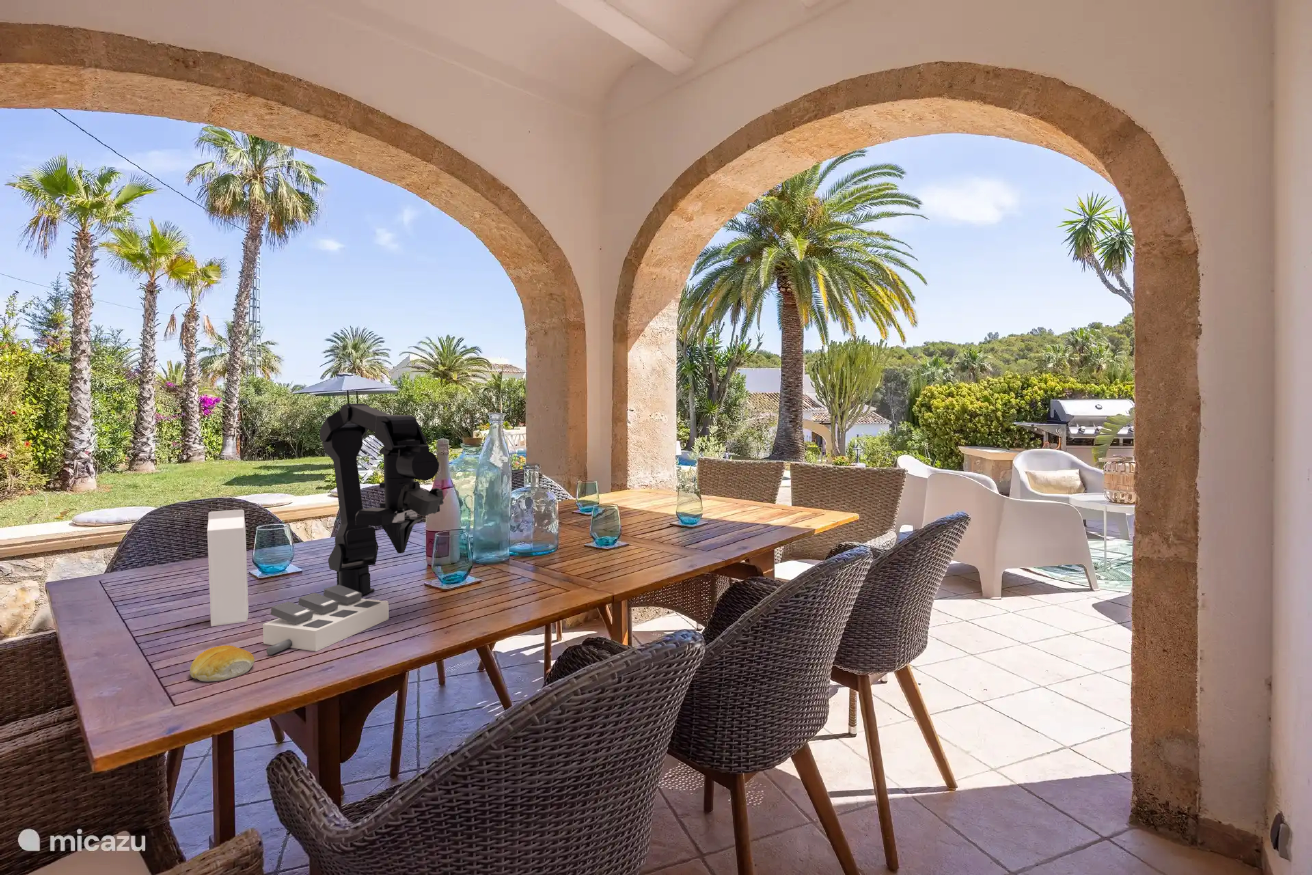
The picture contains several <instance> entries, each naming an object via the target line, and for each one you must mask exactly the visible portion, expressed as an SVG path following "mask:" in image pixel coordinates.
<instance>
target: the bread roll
mask: <svg viewBox="0 0 1312 875" xmlns="http://www.w3.org/2000/svg"><path fill="white" fill-rule="evenodd" d="M254 664H255V656H254V655H253V654H252V652H250V651H248V650H246V649H244V648H240V647H237V646H234V645H226V644H225V645H218V646H214V647H211V648H208V649H206V650H204V651H203V652H201V653H200V654H198V655H197V656H196V657H195V658H194V660H193V661H192V662H191V665H190V667H189V676H190V677H191V678H193V679H195V680H199V681H200V682H206V683H207V682H209V683H211V682H218V681H219V682H221V681H225V680H229V679H233V678H237V677H239V676H241V675H244V674H247V673H248V672H249V670H251V669H252V666H253V665H254Z"/></svg>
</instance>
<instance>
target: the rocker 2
mask: <svg viewBox="0 0 1312 875" xmlns="http://www.w3.org/2000/svg"><path fill="white" fill-rule="evenodd" d="M322 596H325V597H328V598H330V599H333V600H336V601H338V602H341V603H344V604H346V605H348V604H351V603H354V602H356V601H359V600H361V598H362V596H363V595H362V593H360V592H358V591H355V590H352V589H349V588H347V587H344V586H341V585H337V584H336V585H333V586H330V587H327V588H324V590H323V595H322Z"/></svg>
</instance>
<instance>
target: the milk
mask: <svg viewBox="0 0 1312 875" xmlns="http://www.w3.org/2000/svg"><path fill="white" fill-rule="evenodd" d="M207 515H208V516H207V517H208V518H207V520H208V521H207V529H206V531H207V533H206V534H207V558H208V581H209V582H208V583H209V584H208V585H209V586H208V588H209V606H210V607H209V608H210V609H209V611H210V612H209V613H210V626H211V627H218V626H226V625H233V624H240V623H246V622H248V617H249V594H248V593H249V591H248V590H249V589H248V562H247V561H248V558H247V535H246V534H247V533H246V532H247V530H246V520H245V510H244V509H231V510H230V509H227V510H218V511H217V510H215V511H209V512H208V514H207Z"/></svg>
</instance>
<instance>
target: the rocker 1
mask: <svg viewBox="0 0 1312 875" xmlns="http://www.w3.org/2000/svg"><path fill="white" fill-rule="evenodd" d="M270 615H271V616H274V617H276V618H277V619H278V618H281V619H283V620H286V621H288V622H291V623H293V624H299V623H301V622H304V621H306V620H309V619H312V617H313V611H312V610H309V609H307V608H305V607H303V606H300V605H298V604H296V603H294V602H291V601H286V602H282V603H279V604H277V605H274V606H271V609H270Z"/></svg>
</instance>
